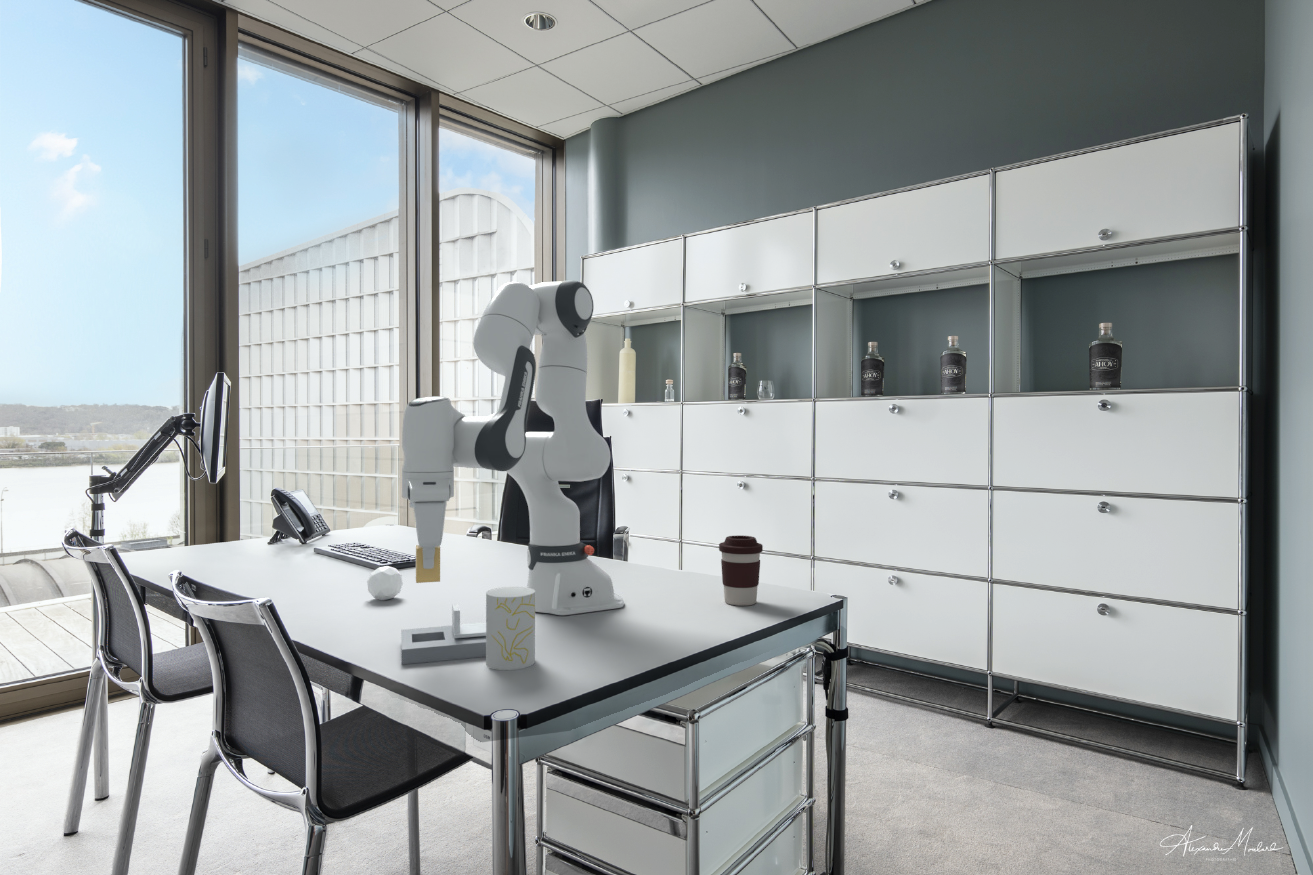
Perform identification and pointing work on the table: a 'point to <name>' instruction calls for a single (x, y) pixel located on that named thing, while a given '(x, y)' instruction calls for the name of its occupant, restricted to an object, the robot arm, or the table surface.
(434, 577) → the plug
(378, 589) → the geometric ball
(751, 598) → the coffee cup
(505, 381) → the robot arm
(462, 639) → the socket board
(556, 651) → the table surface
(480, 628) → the white l-shaped bracket
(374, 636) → the table surface
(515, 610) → the cup
